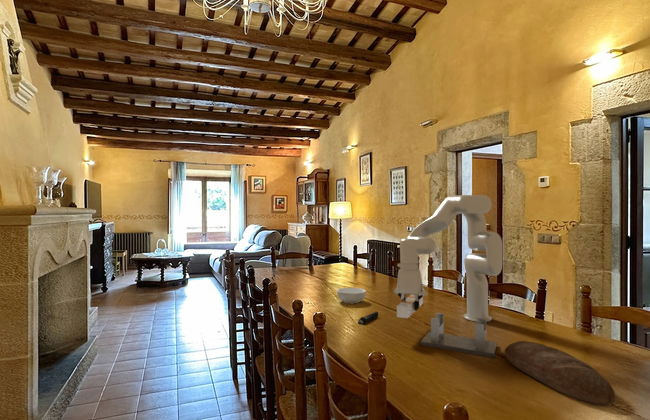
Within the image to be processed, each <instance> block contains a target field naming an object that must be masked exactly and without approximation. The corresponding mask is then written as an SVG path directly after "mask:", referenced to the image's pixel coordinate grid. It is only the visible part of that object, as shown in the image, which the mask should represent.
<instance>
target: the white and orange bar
mask: <svg viewBox="0 0 650 420" xmlns="http://www.w3.org/2000/svg"><path fill="white" fill-rule="evenodd" d="M421 294H422V293H420V294H419V296H420V295H421ZM405 298H406V299H405V300H404V301H402V300H401V302H399V304H397V305H396V318H401V319H409V318H410V317H411V316H412V315H413V314H414V313H415V312H416V311H415V296H414V295H413V294H409V295H408V296H407V297H405ZM423 304H424V297H422V298H421V299H420V300H419V308H420V307H421V306H422V305H423Z"/></svg>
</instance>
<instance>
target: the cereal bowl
mask: <svg viewBox="0 0 650 420" xmlns="http://www.w3.org/2000/svg"><path fill="white" fill-rule="evenodd" d="M366 294H367V290H365V289H364V288H359V287H341V288H337V290H336V295H337V298H338V299H339V300H340V301H342V302H344V304H348V303H351V304H350V305H354V303H356V304H359V302H362V301H363V300H364V299H365V298H366V296H367V295H366Z"/></svg>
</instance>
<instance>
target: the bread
mask: <svg viewBox="0 0 650 420" xmlns="http://www.w3.org/2000/svg"><path fill="white" fill-rule="evenodd" d="M504 354H505V357H506V359H507V360H508V361H509V363H511V365H513V367H515V368H517V369H519V370H520V371H522V372H523V373H525V374H526V375H528V376H530V377H531V378H533V379H535V380H537V381H539V382H540V383H542V384H544V385H545V386H548V387H550V388H551V389H554V390H555V391H558V392H559V393H562V394H564V395H566V396H569V397H571V398H574V399H577V400H579V399H580V401H582V402H583V401H584V402H586V403H589V404H592V405H593V404H594V405H598V406H603V405H604V406H605V405H610V404H612V403H614V401H615V399H616V393H615V390H614V389H613V387H612V385H611V383H610V382H609V381H608V380H607V379H606V378H605V377H604V376H603V375H601V374H600V373H599V372H598V371H597V370H596V369H595V368H594V367H592V365H589V364H588V363H586V362H584V361H583V360H581V359H578V358H577V357H574V356H573V355H570V353H567V352H565V351H562V350H561V349H558V348H554V347H553V346H552V347H551V346H549V345H548V346H547V345H545V344H543V343H542V344H541V343H538V342H534V341H526V340H521V341H520V340H519V341H516V342H512V343H510V344H508V345H507V346H506V347H505V349H504Z"/></svg>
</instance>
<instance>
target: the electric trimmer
mask: <svg viewBox="0 0 650 420" xmlns="http://www.w3.org/2000/svg"><path fill="white" fill-rule="evenodd" d="M378 317H379V312H378V311H375V312H371V313H369V314H368V315H365V316H361V317H360V318H359V319H358V321H357V324H358V325H366V323H368V322H370V321H374V320H375V319H376V318H378Z"/></svg>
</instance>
